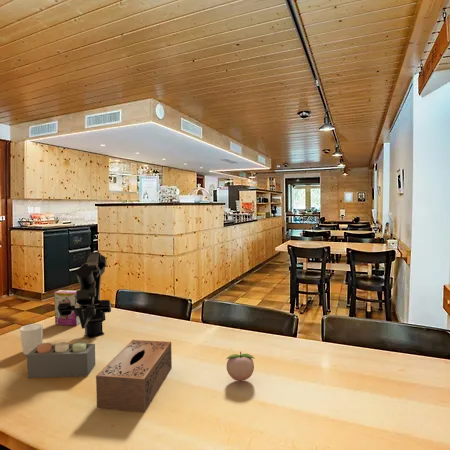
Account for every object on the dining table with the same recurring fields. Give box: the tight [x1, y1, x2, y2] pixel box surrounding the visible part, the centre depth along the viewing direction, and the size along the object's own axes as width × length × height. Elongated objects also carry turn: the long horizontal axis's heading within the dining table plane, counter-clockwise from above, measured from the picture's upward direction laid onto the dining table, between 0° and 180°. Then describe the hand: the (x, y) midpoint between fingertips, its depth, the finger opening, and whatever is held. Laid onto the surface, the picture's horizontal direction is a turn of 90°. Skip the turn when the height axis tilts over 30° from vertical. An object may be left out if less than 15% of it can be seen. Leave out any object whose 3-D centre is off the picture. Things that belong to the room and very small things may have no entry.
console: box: [26, 343, 96, 379], centre depth 119 cm, size 8×20×8 cm, turn 93°
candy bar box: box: [53, 289, 81, 327], centre depth 165 cm, size 11×5×16 cm, turn 84°
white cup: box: [19, 323, 44, 356], centre depth 135 cm, size 8×8×10 cm
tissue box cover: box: [95, 339, 173, 413], centre depth 109 cm, size 26×14×10 cm, turn 172°
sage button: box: [72, 341, 87, 352], centre depth 119 cm, size 4×4×4 cm
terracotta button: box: [37, 342, 53, 353], centre depth 118 cm, size 4×4×4 cm
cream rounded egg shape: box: [54, 341, 70, 352], centre depth 119 cm, size 4×4×4 cm
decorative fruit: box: [226, 351, 255, 382], centre depth 111 cm, size 9×8×10 cm
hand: (83, 328), depth 126 cm, fingers closed
